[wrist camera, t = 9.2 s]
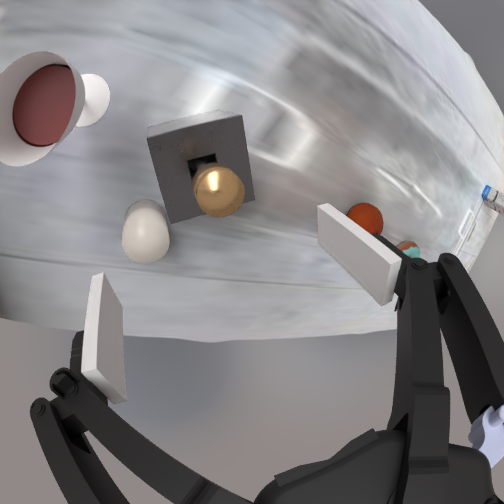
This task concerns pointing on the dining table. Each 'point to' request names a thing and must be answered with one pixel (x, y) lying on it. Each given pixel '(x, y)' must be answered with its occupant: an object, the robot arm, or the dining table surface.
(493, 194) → the ink box
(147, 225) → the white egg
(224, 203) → the gold knobbed rod
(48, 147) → the wineglass
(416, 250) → the donut
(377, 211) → the fruit
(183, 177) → the grey block with hole
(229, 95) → the dining table surface
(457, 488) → the robot arm
